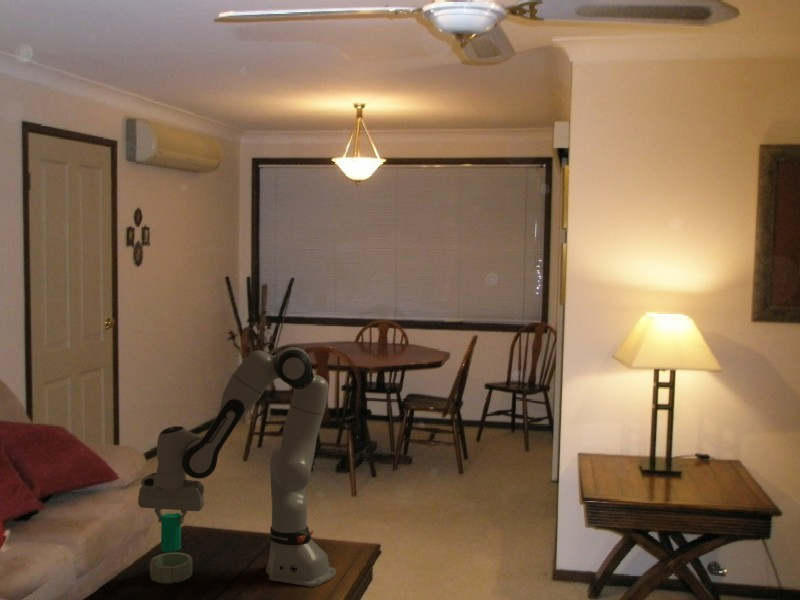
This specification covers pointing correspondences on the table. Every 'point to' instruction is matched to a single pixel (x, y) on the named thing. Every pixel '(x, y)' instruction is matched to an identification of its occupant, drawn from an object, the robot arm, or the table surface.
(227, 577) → the table surface
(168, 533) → the candle
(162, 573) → the dish
